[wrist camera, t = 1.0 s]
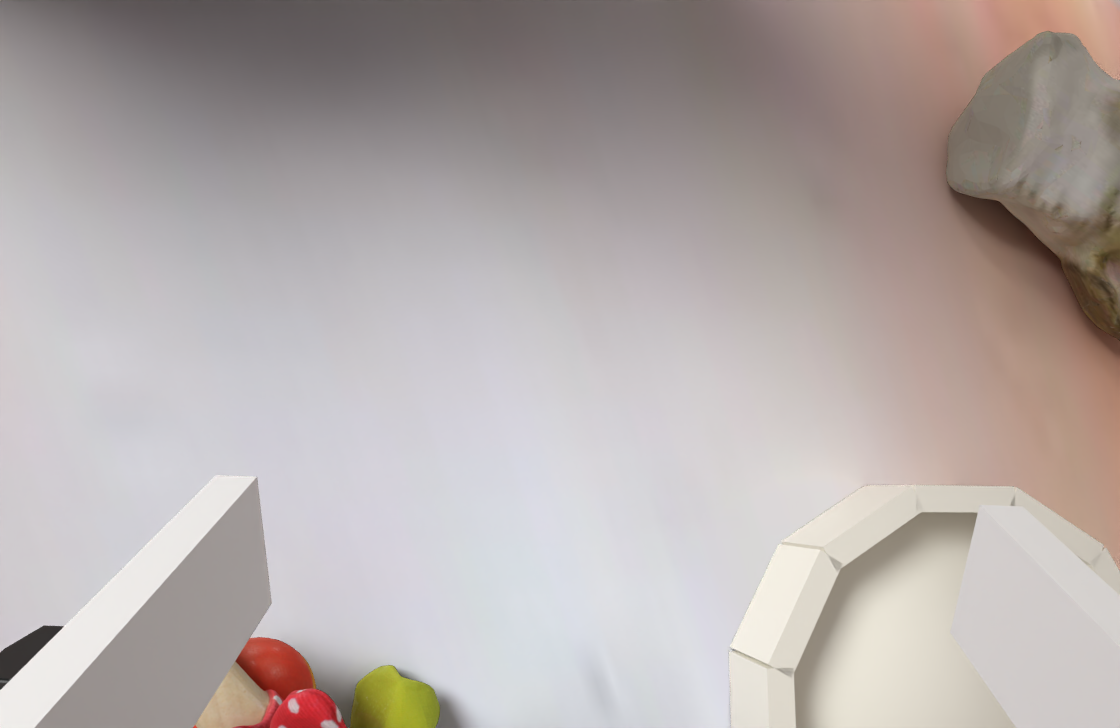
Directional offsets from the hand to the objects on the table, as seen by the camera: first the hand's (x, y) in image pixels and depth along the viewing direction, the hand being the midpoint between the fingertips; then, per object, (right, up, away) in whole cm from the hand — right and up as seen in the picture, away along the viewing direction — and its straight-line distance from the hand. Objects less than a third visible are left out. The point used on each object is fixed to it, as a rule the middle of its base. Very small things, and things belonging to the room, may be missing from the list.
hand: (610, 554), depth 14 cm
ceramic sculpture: (+22, +11, +22) cm, 33 cm away
